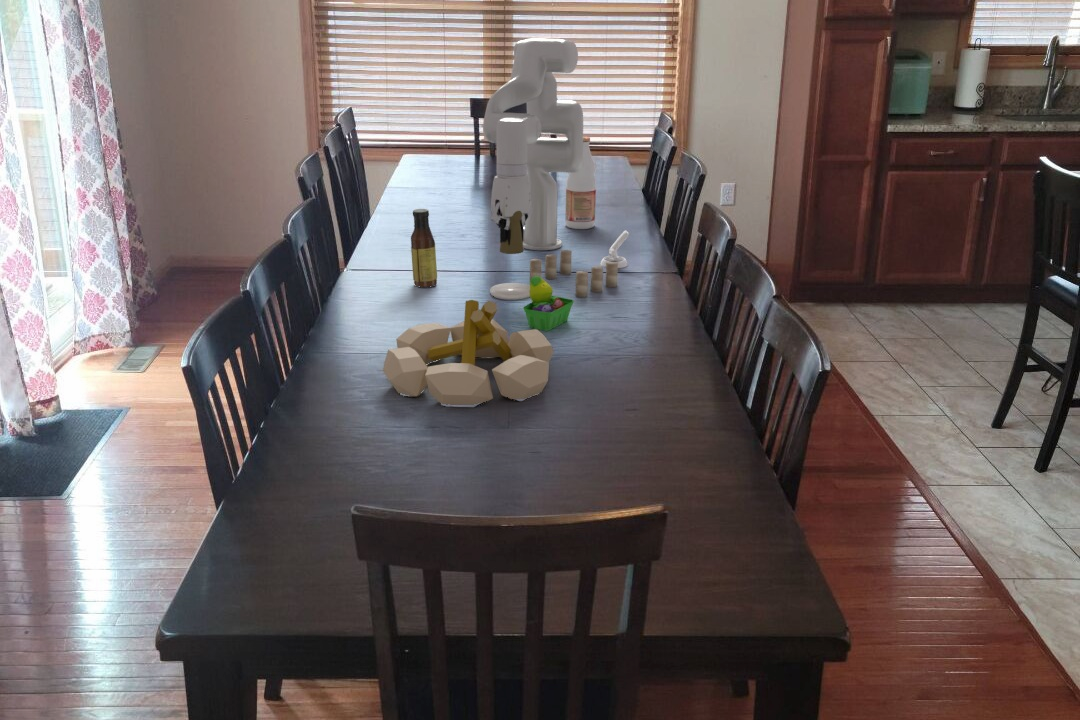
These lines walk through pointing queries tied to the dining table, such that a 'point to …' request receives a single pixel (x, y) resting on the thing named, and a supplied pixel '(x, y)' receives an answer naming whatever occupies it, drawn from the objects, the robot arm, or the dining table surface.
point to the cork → (514, 236)
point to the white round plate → (510, 291)
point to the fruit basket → (545, 306)
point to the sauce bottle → (423, 251)
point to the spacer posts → (580, 275)
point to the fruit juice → (581, 192)
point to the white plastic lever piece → (614, 254)
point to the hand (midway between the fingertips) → (511, 241)
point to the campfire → (469, 359)
